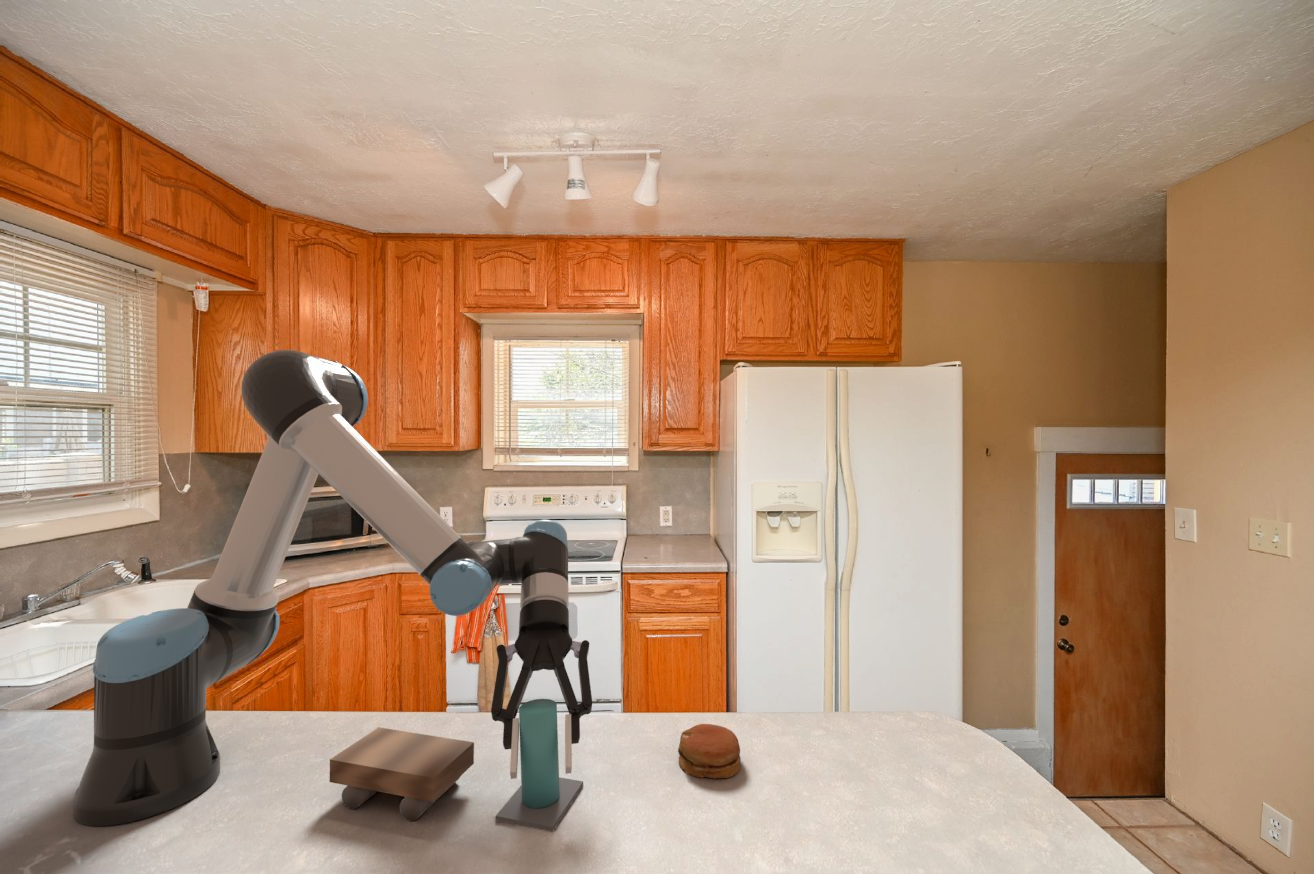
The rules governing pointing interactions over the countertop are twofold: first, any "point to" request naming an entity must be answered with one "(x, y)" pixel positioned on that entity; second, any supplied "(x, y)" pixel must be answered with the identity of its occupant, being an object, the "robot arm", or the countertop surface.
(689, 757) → the burger
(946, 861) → the countertop surface
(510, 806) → the pad
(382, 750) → the slab
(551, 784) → the roller
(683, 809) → the countertop surface
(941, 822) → the countertop surface
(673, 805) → the countertop surface
